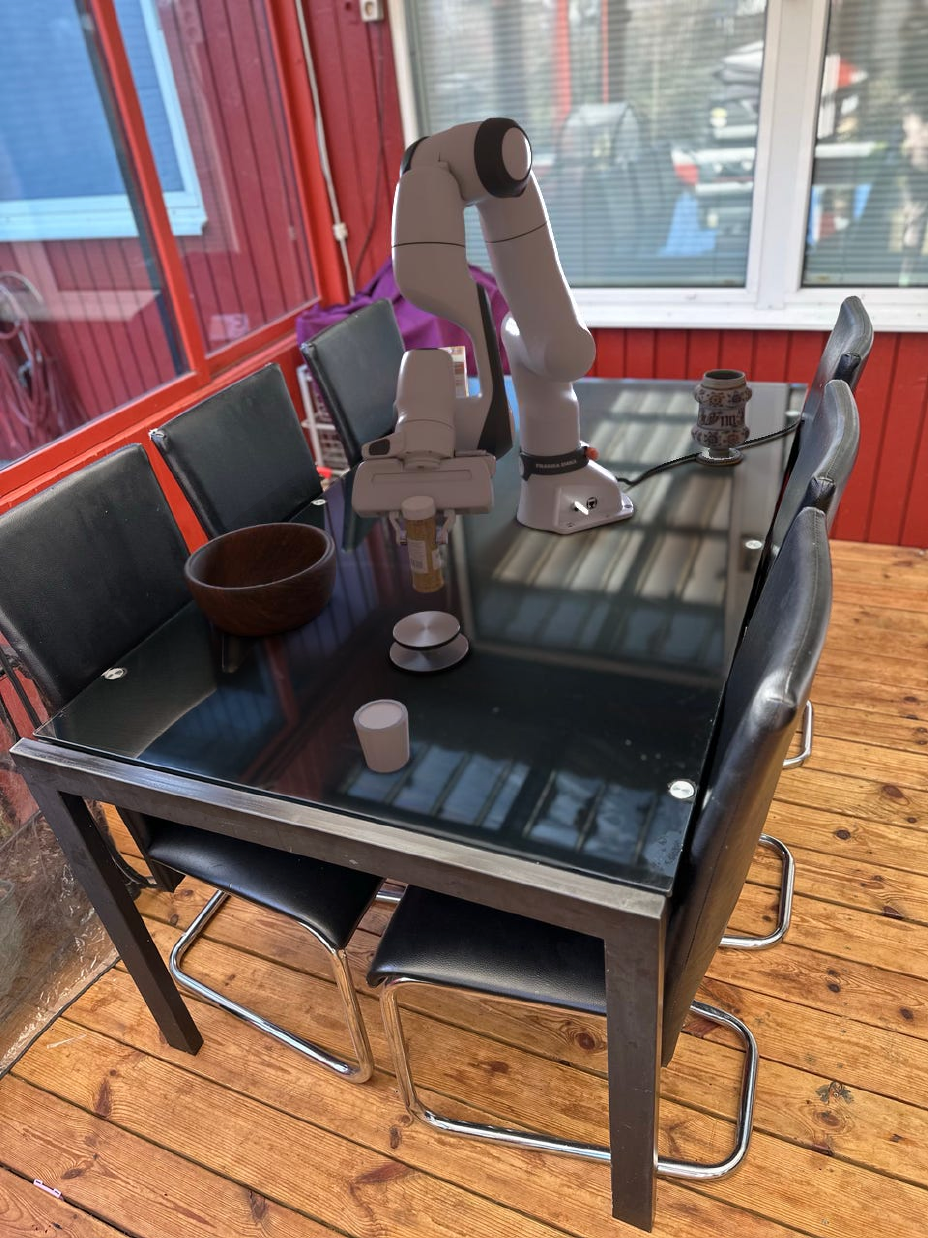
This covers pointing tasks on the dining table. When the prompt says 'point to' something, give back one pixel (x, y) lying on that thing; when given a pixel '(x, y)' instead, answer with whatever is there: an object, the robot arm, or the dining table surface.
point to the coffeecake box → (459, 369)
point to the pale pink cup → (383, 734)
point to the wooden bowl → (263, 577)
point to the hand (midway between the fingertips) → (421, 543)
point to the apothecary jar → (721, 415)
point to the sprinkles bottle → (422, 543)
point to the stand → (428, 643)
